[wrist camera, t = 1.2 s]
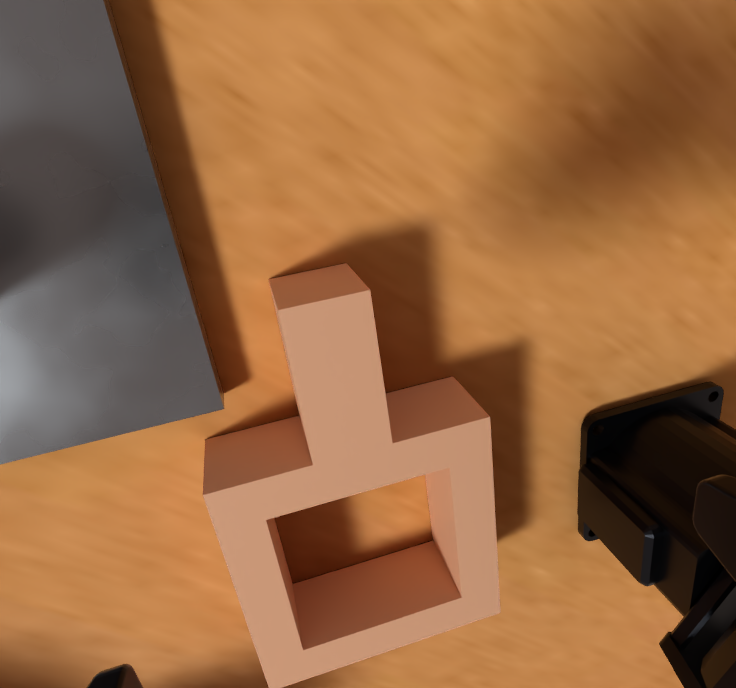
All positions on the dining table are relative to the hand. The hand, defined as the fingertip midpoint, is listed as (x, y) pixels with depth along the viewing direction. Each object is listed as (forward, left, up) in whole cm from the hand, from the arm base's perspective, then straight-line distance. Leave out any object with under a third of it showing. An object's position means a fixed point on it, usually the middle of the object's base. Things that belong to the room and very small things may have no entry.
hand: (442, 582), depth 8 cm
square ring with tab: (0, +5, -11) cm, 12 cm away
